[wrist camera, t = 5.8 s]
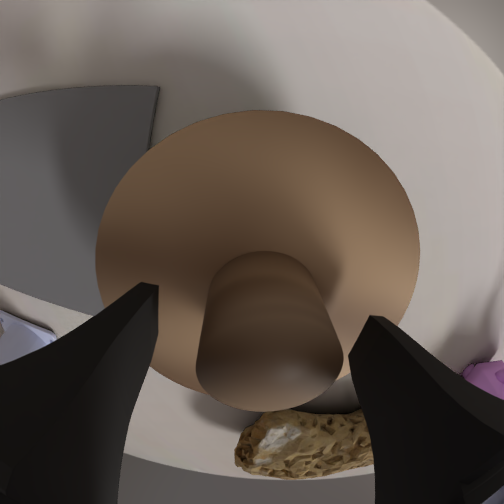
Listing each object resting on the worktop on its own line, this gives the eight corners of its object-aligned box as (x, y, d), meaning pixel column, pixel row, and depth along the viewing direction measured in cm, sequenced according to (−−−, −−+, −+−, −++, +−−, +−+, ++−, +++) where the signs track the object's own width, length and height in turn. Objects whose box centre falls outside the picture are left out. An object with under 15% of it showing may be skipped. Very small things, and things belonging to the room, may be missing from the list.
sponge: (234, 429, 27) (371, 459, 26) (222, 481, 19) (381, 501, 19) (286, 346, 24) (433, 392, 24) (287, 402, 16) (460, 433, 16)
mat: (141, 324, 18) (140, 327, 17) (-2, 280, 16) (-4, 282, 16) (159, 87, 11) (157, 86, 11) (-13, 103, 10) (-16, 104, 9)
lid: (342, 392, 14) (360, 452, 10) (116, 364, 13) (91, 427, 9) (447, 173, 9) (523, 205, 5) (116, 91, 7) (37, 78, 3)
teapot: (480, 326, 20) (528, 388, 11) (519, 329, 22) (554, 373, 13) (394, 427, 27) (415, 484, 18) (449, 415, 29) (469, 458, 20)
